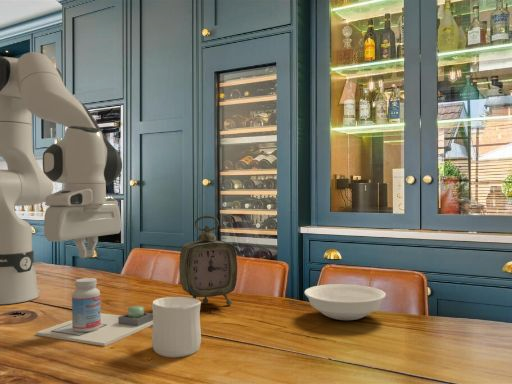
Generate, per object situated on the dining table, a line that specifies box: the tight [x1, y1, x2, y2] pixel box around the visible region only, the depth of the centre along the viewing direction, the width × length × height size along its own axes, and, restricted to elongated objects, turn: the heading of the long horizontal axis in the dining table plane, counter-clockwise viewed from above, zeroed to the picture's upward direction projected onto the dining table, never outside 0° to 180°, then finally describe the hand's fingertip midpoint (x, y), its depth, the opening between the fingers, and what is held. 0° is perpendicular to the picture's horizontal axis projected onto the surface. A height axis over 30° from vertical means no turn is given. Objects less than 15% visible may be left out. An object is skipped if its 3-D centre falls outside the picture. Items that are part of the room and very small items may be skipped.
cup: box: [151, 296, 202, 358], centre depth 92 cm, size 10×10×10 cm
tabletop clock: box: [178, 215, 238, 306], centre depth 127 cm, size 14×9×25 cm, turn 114°
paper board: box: [35, 312, 153, 347], centre depth 107 cm, size 20×18×1 cm
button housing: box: [118, 311, 153, 326], centre depth 110 cm, size 6×6×2 cm
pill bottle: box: [71, 277, 102, 332], centre depth 105 cm, size 6×6×11 cm
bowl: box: [304, 283, 387, 321], centre depth 113 cm, size 20×20×6 cm
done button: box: [127, 305, 145, 318], centre depth 110 cm, size 4×4×2 cm
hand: (86, 257), depth 104 cm, fingers closed
